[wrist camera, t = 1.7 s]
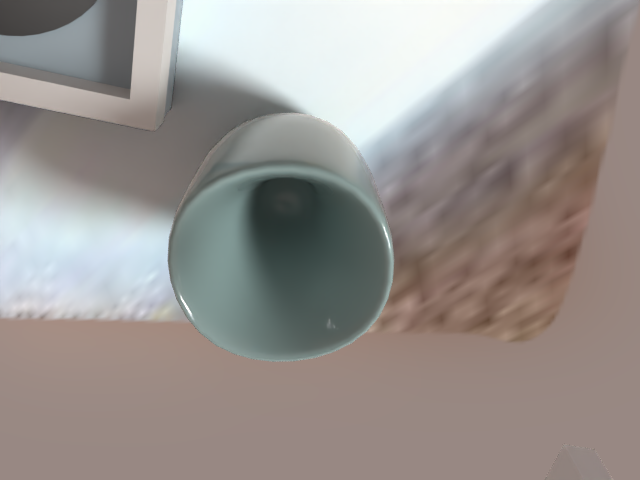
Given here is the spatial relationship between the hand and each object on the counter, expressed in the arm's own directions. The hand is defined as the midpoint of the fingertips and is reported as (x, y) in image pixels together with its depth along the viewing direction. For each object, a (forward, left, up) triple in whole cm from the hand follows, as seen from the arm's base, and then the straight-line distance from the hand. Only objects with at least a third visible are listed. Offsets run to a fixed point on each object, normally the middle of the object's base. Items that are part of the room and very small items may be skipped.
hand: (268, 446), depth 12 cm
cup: (0, 0, -18) cm, 18 cm away
